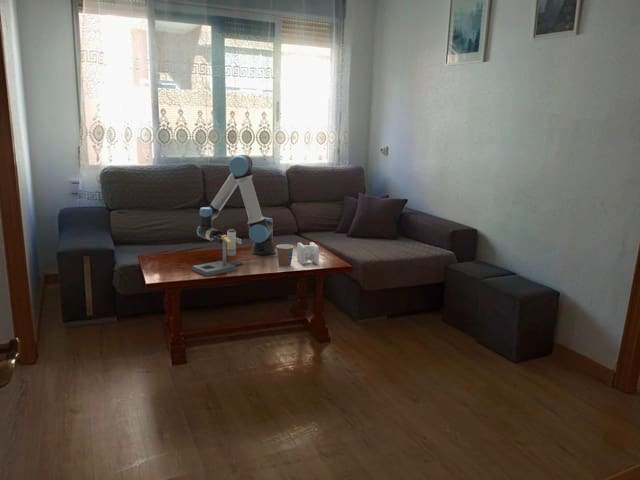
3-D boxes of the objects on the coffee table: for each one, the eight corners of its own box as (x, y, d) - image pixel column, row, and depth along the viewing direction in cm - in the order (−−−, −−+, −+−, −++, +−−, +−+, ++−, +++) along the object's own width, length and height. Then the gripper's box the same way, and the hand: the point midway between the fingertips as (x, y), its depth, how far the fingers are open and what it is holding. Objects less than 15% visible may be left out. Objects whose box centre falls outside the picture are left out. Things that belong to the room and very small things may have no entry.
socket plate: (220, 264, 301) (220, 236, 297) (235, 270, 290) (235, 241, 287) (192, 270, 288) (191, 240, 284) (206, 276, 277) (206, 245, 274)
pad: (235, 261, 308) (235, 260, 308) (243, 264, 303) (243, 263, 303) (224, 263, 303) (224, 262, 303) (231, 266, 297) (231, 265, 297)
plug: (232, 253, 306) (232, 228, 302) (238, 255, 302) (238, 230, 298) (224, 254, 302) (224, 229, 298) (230, 256, 298) (230, 231, 294)
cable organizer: (296, 259, 318) (296, 241, 315) (312, 259, 321) (313, 241, 318) (302, 266, 304) (303, 247, 301) (319, 265, 307) (320, 246, 304)
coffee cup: (290, 268, 298) (291, 248, 295) (273, 267, 299) (274, 247, 297) (295, 264, 307) (295, 244, 305) (278, 262, 309) (279, 243, 307)
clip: (220, 241, 291) (220, 235, 291) (226, 241, 293) (226, 235, 292) (226, 248, 277) (226, 241, 276) (232, 247, 278) (232, 240, 278)
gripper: (226, 239, 319) (249, 246, 303) (201, 243, 307) (223, 250, 291) (226, 227, 318) (249, 234, 301) (201, 230, 305) (223, 238, 289)
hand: (236, 242), depth 296 cm, fingers closed on plug, 5 cm apart
